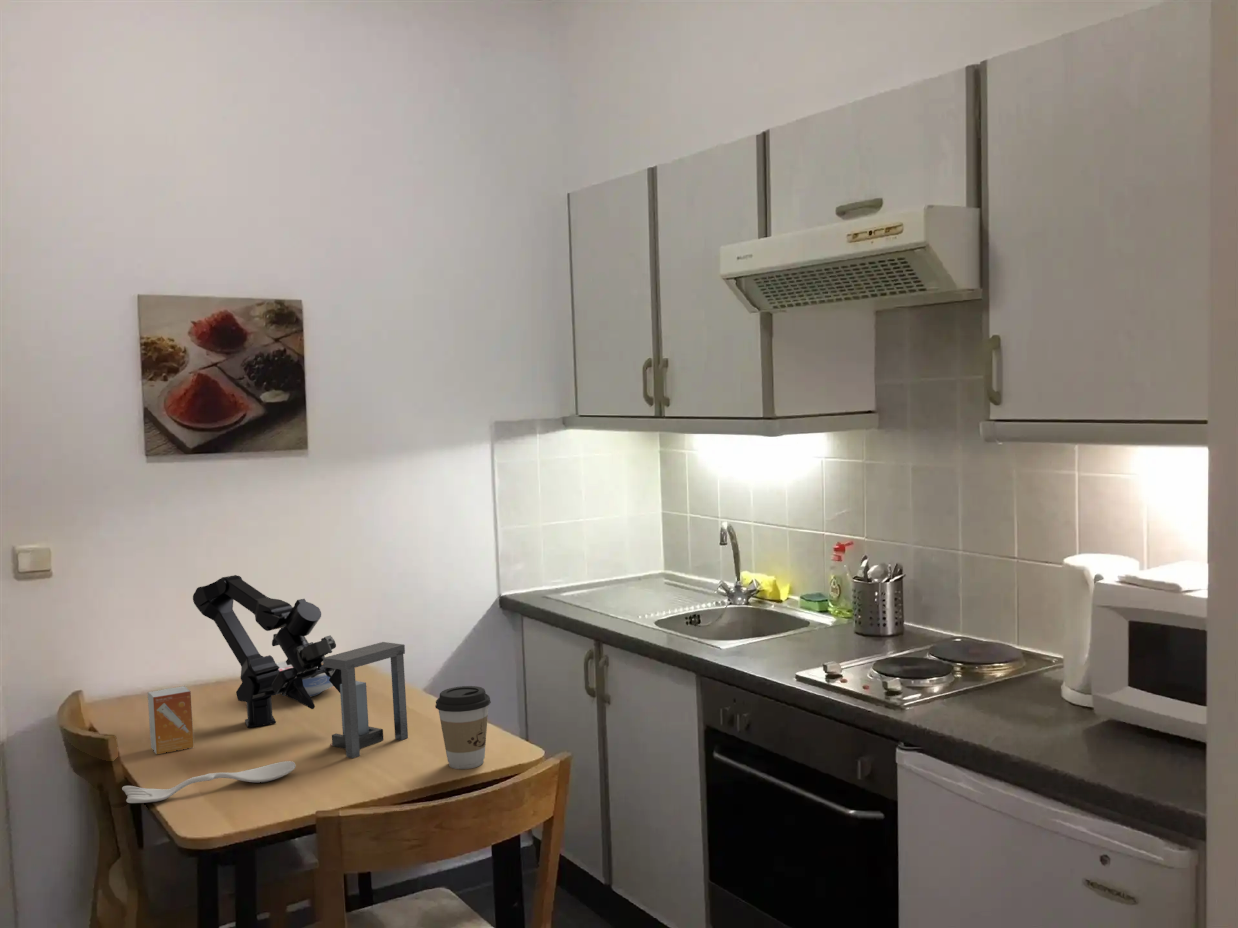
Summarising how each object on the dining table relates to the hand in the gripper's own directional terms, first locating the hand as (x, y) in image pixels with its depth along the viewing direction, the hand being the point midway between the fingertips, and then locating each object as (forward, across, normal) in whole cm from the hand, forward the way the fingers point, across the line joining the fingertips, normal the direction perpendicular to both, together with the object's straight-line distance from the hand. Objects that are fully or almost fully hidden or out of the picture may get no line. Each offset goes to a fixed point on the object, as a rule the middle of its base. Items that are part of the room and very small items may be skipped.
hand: (330, 702), depth 247 cm
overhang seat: (+13, 0, -1) cm, 13 cm away
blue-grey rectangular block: (+11, 0, 0) cm, 11 cm away
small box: (-13, -24, +25) cm, 36 cm away
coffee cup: (+34, +2, -23) cm, 41 cm away
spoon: (+10, -34, 0) cm, 36 cm away
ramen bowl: (-20, +21, +35) cm, 46 cm away
